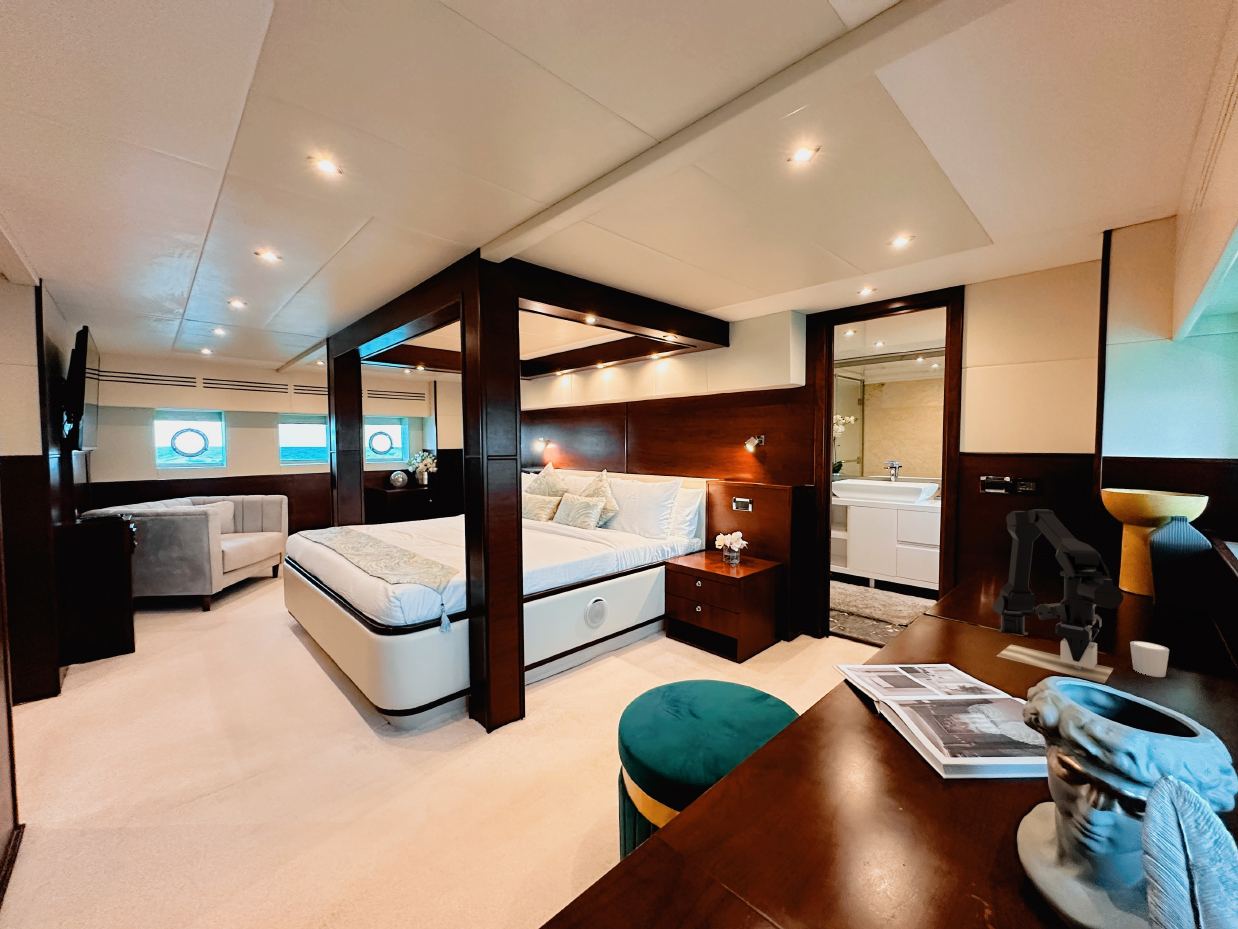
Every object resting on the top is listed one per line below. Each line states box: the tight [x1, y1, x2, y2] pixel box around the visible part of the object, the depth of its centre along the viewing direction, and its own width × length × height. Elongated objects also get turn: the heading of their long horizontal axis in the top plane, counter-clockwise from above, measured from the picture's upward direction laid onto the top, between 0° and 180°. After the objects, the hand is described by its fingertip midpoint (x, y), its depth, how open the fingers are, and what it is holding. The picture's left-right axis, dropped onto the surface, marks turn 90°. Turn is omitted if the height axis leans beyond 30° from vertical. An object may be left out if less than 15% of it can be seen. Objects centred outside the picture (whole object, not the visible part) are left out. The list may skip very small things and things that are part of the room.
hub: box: [1059, 637, 1098, 669], centre depth 125 cm, size 6×6×5 cm
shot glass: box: [1129, 640, 1170, 678], centre depth 126 cm, size 7×7×7 cm
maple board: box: [996, 644, 1114, 684], centre depth 129 cm, size 14×21×2 cm, turn 38°
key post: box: [1075, 665, 1083, 670], centre depth 125 cm, size 3×1×6 cm, turn 128°
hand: (1078, 658), depth 125 cm, fingers closed on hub, 6 cm apart
